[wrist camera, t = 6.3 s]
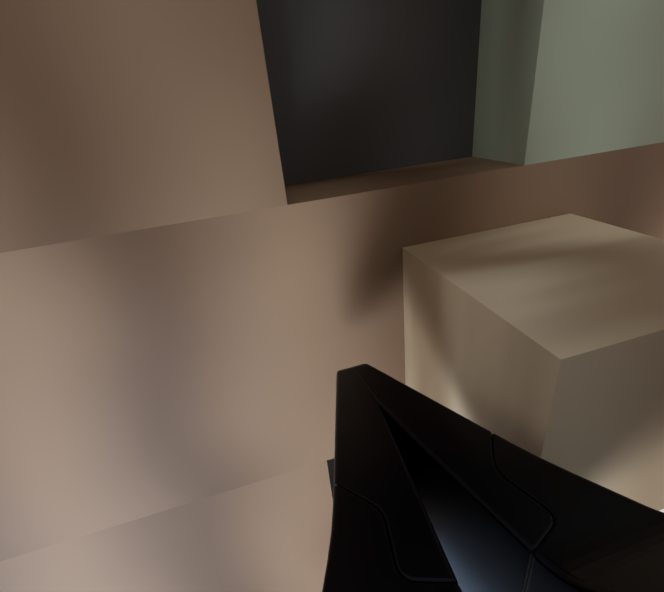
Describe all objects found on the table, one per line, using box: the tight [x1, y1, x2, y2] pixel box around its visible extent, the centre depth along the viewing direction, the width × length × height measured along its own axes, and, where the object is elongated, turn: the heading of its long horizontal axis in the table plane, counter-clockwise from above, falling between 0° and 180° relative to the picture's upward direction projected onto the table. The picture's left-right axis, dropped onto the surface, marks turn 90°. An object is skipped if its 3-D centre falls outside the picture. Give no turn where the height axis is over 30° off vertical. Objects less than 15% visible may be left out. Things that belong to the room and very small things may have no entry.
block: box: [403, 213, 664, 511], centre depth 9 cm, size 5×5×5 cm
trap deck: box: [0, 0, 664, 592], centre depth 12 cm, size 25×23×2 cm
